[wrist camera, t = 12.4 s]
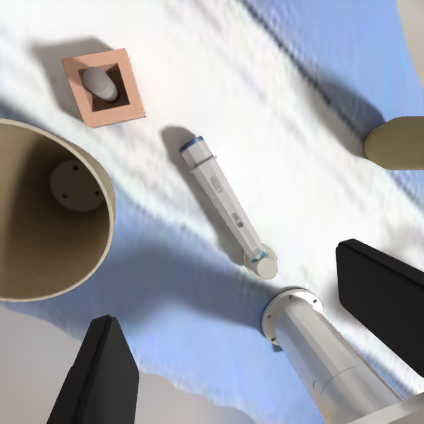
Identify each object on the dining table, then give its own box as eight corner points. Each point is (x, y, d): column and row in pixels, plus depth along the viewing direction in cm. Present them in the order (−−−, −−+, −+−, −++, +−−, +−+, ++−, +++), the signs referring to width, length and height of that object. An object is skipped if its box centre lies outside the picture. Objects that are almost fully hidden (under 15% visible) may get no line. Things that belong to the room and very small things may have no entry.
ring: (145, 116, 32) (143, 113, 29) (92, 127, 31) (85, 125, 28) (128, 57, 30) (125, 48, 27) (71, 67, 29) (60, 59, 26)
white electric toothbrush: (207, 130, 31) (294, 278, 36) (202, 138, 38) (277, 262, 43) (173, 151, 31) (265, 297, 36) (175, 156, 38) (252, 278, 42)
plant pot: (-5, 150, 30) (-170, 155, 15) (109, 116, 32) (60, 90, 17) (53, 250, 35) (-31, 329, 20) (150, 216, 37) (140, 266, 21)
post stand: (145, 116, 33) (140, 108, 26) (94, 128, 32) (73, 123, 25) (129, 59, 31) (118, 34, 24) (73, 70, 30) (45, 46, 23)
